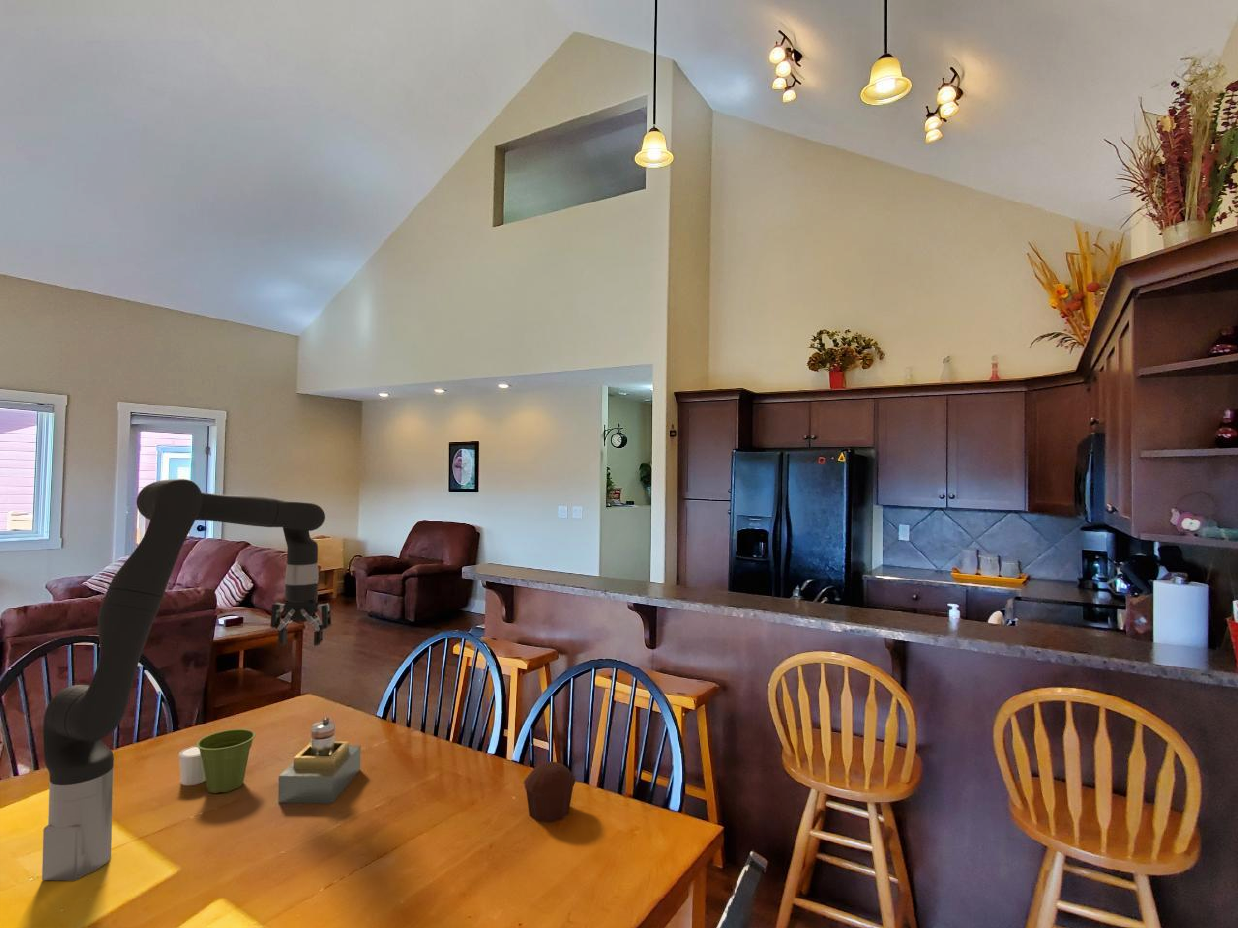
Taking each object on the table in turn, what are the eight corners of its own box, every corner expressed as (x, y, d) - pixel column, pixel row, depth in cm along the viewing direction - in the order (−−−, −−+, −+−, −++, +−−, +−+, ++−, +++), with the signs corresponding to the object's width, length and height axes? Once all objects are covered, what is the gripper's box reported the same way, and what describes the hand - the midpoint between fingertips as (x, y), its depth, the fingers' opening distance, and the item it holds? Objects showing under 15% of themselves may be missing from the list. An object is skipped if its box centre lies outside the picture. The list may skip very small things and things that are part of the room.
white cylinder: (199, 787, 148) (200, 757, 148) (170, 786, 148) (171, 756, 149) (218, 773, 155) (219, 744, 155) (191, 772, 155) (191, 743, 155)
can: (328, 764, 148) (329, 725, 148) (306, 763, 148) (307, 725, 148) (337, 754, 153) (338, 716, 153) (316, 753, 153) (317, 716, 153)
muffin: (565, 829, 134) (566, 781, 134) (516, 822, 136) (516, 775, 136) (580, 800, 146) (581, 756, 146) (534, 794, 148) (535, 751, 148)
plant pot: (265, 775, 154) (266, 729, 154) (231, 801, 142) (232, 750, 143) (220, 772, 155) (221, 726, 156) (182, 797, 144) (183, 747, 144)
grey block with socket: (331, 803, 142) (332, 765, 142) (278, 802, 142) (279, 764, 142) (360, 768, 159) (361, 734, 159) (312, 767, 159) (313, 733, 159)
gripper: (265, 583, 158) (264, 648, 158) (323, 584, 158) (321, 649, 158) (281, 577, 165) (280, 640, 165) (336, 578, 165) (335, 641, 165)
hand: (300, 644), depth 161 cm, fingers open, 8 cm apart
